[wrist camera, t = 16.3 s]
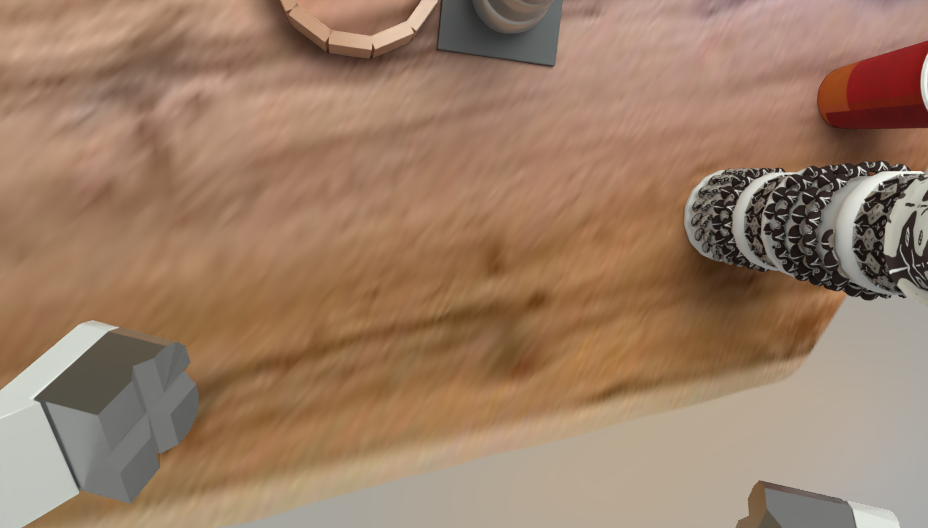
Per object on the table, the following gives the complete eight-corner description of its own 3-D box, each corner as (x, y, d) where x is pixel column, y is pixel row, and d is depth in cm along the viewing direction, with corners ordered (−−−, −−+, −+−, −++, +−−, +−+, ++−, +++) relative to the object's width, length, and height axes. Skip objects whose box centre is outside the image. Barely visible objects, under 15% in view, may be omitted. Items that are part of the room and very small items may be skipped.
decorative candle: (760, 273, 64) (1016, 332, 40) (670, 256, 63) (880, 307, 38) (782, 176, 64) (1057, 175, 39) (691, 156, 62) (921, 143, 37)
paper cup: (892, 113, 65) (1040, 97, 51) (827, 155, 64) (959, 149, 50) (860, 38, 63) (1003, 0, 50) (792, 80, 63) (919, 53, 49)
